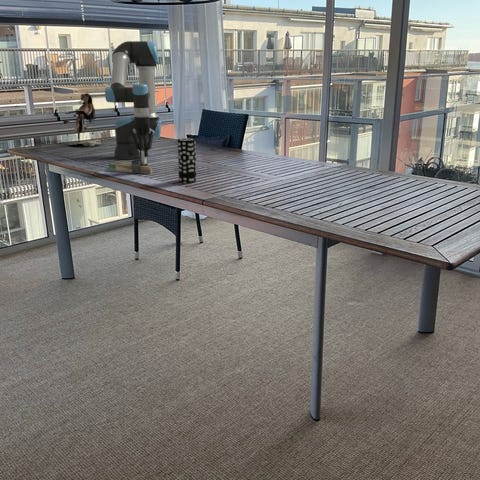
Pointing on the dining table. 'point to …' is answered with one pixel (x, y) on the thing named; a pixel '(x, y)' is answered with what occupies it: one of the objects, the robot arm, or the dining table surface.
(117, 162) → the tongs jaw
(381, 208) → the dining table surface
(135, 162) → the collar
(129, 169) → the bar
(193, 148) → the white-spotted black cylinder
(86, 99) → the figurine
